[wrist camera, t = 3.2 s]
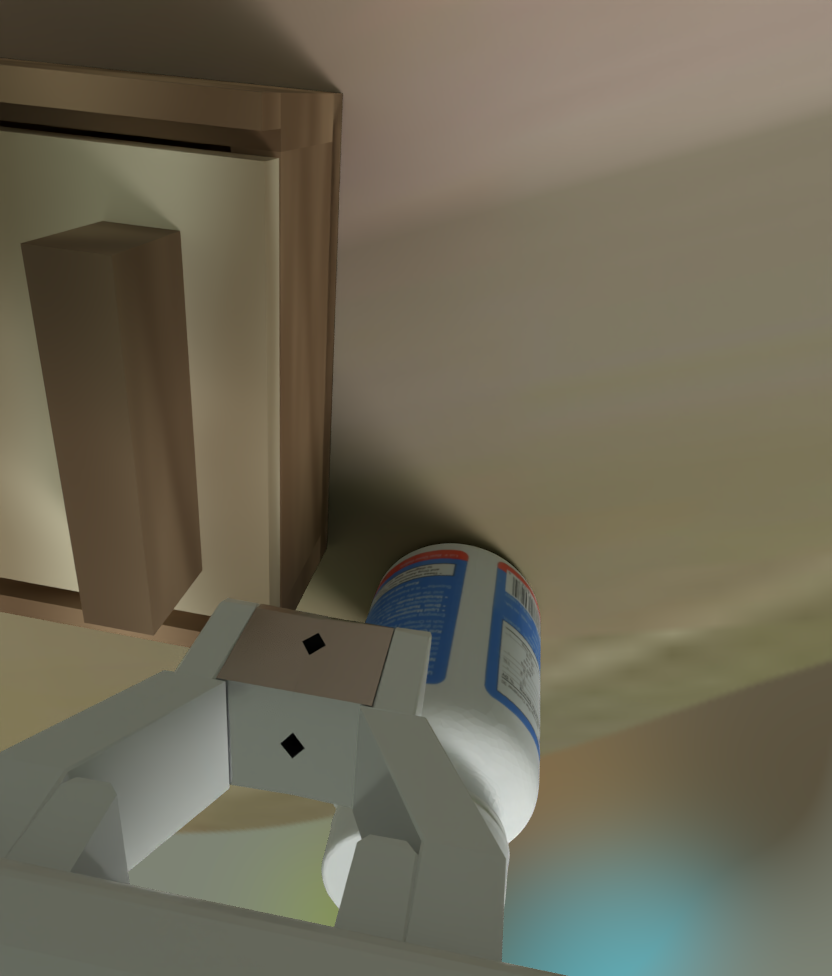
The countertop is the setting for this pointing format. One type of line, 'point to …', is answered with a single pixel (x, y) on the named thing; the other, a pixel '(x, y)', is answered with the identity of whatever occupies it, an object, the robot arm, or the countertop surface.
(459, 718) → the pill bottle
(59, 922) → the robot arm
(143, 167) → the lid
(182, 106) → the lid box
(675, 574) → the countertop surface
